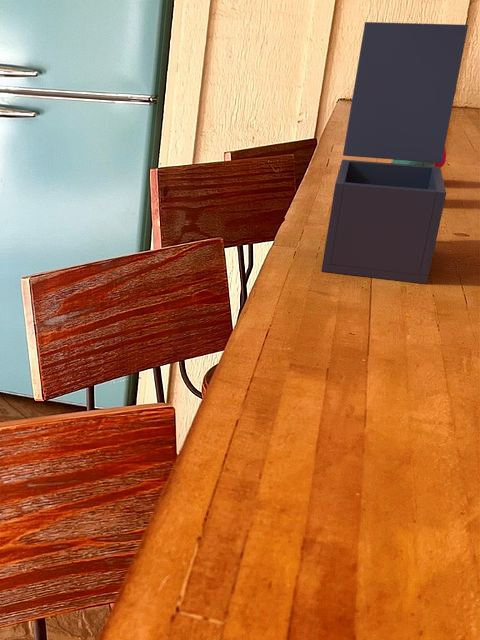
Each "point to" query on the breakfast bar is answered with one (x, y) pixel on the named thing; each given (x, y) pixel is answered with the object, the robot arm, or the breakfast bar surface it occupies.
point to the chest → (384, 220)
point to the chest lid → (404, 90)
